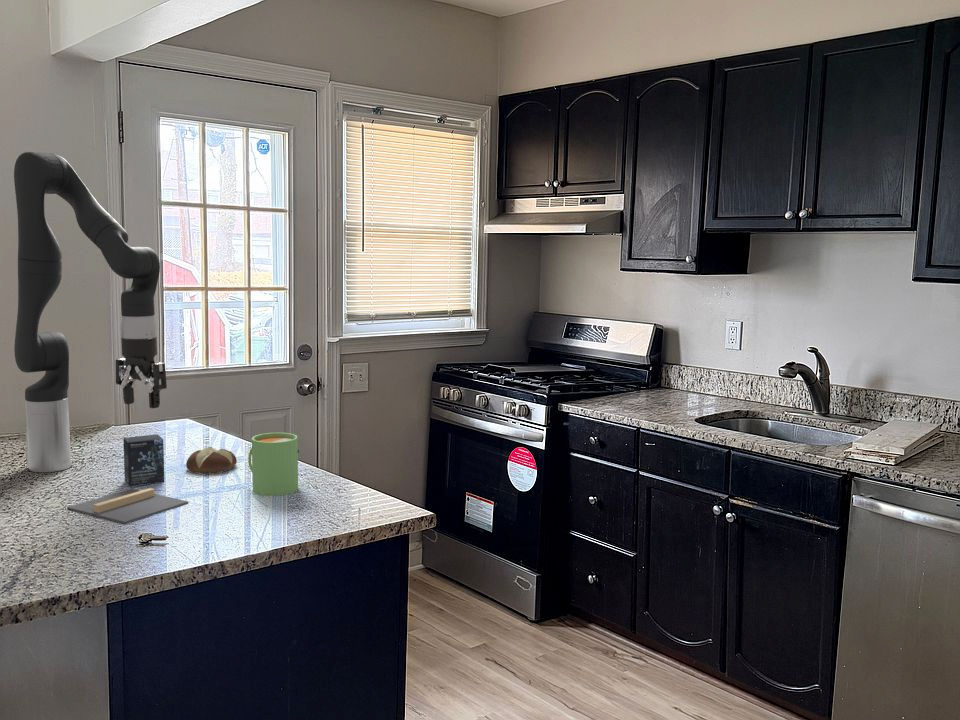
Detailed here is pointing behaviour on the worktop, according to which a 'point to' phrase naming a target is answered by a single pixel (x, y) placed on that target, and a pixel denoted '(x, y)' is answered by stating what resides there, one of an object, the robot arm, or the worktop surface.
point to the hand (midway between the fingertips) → (141, 405)
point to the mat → (128, 505)
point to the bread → (211, 461)
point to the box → (143, 460)
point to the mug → (274, 463)
